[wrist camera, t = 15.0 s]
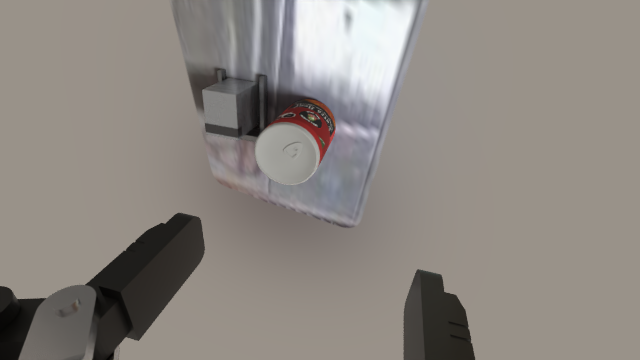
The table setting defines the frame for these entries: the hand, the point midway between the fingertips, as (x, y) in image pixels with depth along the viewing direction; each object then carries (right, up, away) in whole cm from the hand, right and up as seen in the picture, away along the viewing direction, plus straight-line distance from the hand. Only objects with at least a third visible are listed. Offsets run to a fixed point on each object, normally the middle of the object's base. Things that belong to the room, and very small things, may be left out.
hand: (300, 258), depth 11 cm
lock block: (-10, +14, +34) cm, 38 cm away
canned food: (-1, +11, +33) cm, 35 cm away
